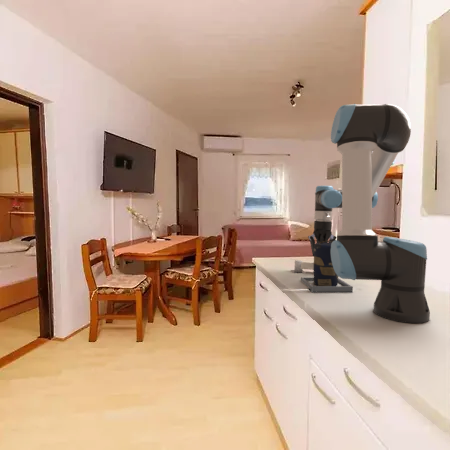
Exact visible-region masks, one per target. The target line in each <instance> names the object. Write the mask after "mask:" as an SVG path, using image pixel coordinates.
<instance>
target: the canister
mask: <svg viewBox="0 0 450 450" xmlns="http://www.w3.org/2000/svg"><path fill="white" fill-rule="evenodd" d="M327 242H328V243H327ZM329 242H330V241H329V240H328V241H323V242H320V243H317V242H315V245H314V256H313V262H314V270H313V277H312V278H313V281H312V282H313V284H314V286H338V284H339V282H338V278H339V277H338V276H337V274H336V273H335V271H334V268H333V265H332V260H331V243H332V242H330V243H329Z"/></svg>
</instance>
